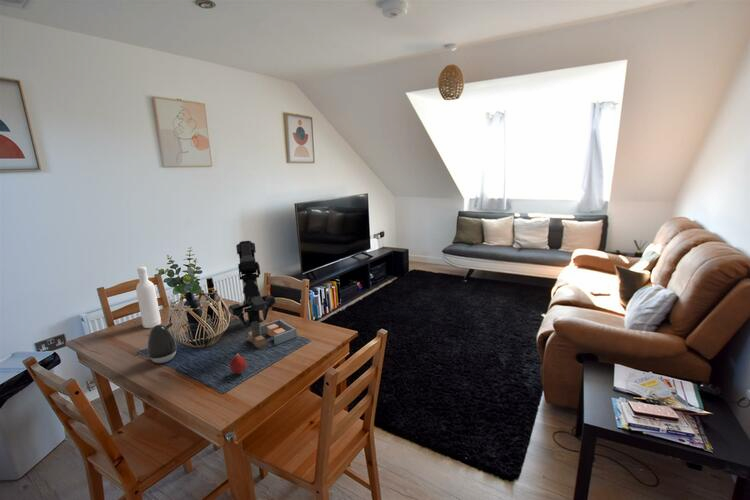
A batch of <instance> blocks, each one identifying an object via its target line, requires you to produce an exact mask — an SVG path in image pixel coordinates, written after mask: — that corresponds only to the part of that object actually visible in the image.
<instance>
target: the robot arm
mask: <svg viewBox="0 0 750 500" xmlns="http://www.w3.org/2000/svg"><path fill="white" fill-rule="evenodd" d="M235 247H236V255H238V258H239V263H238V264H237V266H238V268H237V269H238V274H239V275H238V276H239V281H241V280H242V290H243V291H242V294H243V295H244V296H243V300H242V304H239V303H235V304H231V305H228V308H227V309H228V314H230V313H231V314H232V315H236V316H237V318H238V319H239V321H240V323H241V325H242V327H244V328H246V323H247V324H248V325H250V326H251V322H254V321H257V322H259V323H261V322H264V321H266V320H267V316H268V312H269V310H270V309H271V307H272V306H274V305H275V304H276V303H277V301H276V297H275V296H272V295H271V294H267V295H263V296H261V292H260V289H259V285H258V279H257V278H260V275H261V268H260V264H259V262H258V261H256V257H255V256H256V255H255V253H257V252H256V251H257V249H256V244H255V242H252V241H251V240H241V241H239V243H238V244H236V246H235ZM260 311H262V312H261V313H262V318H263V319H262V318H261V314H260ZM246 313H247V319H246V320H245V317H244V316H245V314H246Z"/></svg>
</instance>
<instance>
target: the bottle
mask: <svg viewBox="0 0 750 500" xmlns="http://www.w3.org/2000/svg"><path fill="white" fill-rule="evenodd" d="M147 270H148V269H147V266H138V267H137V268H136V271H137V275H138V279H139V282H138V283H137V284H136V287H135V292H136V298H137V301H138V307H139V312H140V317H141V325H142V327H143V328H144V329H145V328H146V329H152V328H153V327H154V326H156V325H162V318H161V313H160V307H159V302H158V298H157V291H156V288H155V287H156V286H155V283H153V282H152V281H151V280H149V275H148V271H147Z"/></svg>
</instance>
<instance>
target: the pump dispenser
mask: <svg viewBox="0 0 750 500" xmlns="http://www.w3.org/2000/svg"><path fill="white" fill-rule="evenodd" d="M173 325H174V324H173V322H170V323H168V324H167V325H163V324H160V325H156V326H154V327H152V328H150V329H151V330H150V332H149V335H148V338H147V344H146V345H147V346H146V347H147V349H146V350H147V356H148V358H149V359H150V360H151V361H152V362H154V363H156V364H163V363H167V362H170V360H172V359H173V358H174V357H175V355H176V353H177V349H178V346H177V343H176V340H175V338H174V336H173V334H172V332H171V330H170V328H171V327H172V326H173Z"/></svg>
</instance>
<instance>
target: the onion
mask: <svg viewBox="0 0 750 500" xmlns="http://www.w3.org/2000/svg"><path fill="white" fill-rule="evenodd" d="M247 365H248V361H247V360H246V359H245V357H243V356H242V355H240V354H239V353H236V355H234V357H233V358H232V359H231V361H230V362H229V368H230V371H231V372H232V373H234V374H241V373H243V372H244V371H245V370H246V369H247Z"/></svg>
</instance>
